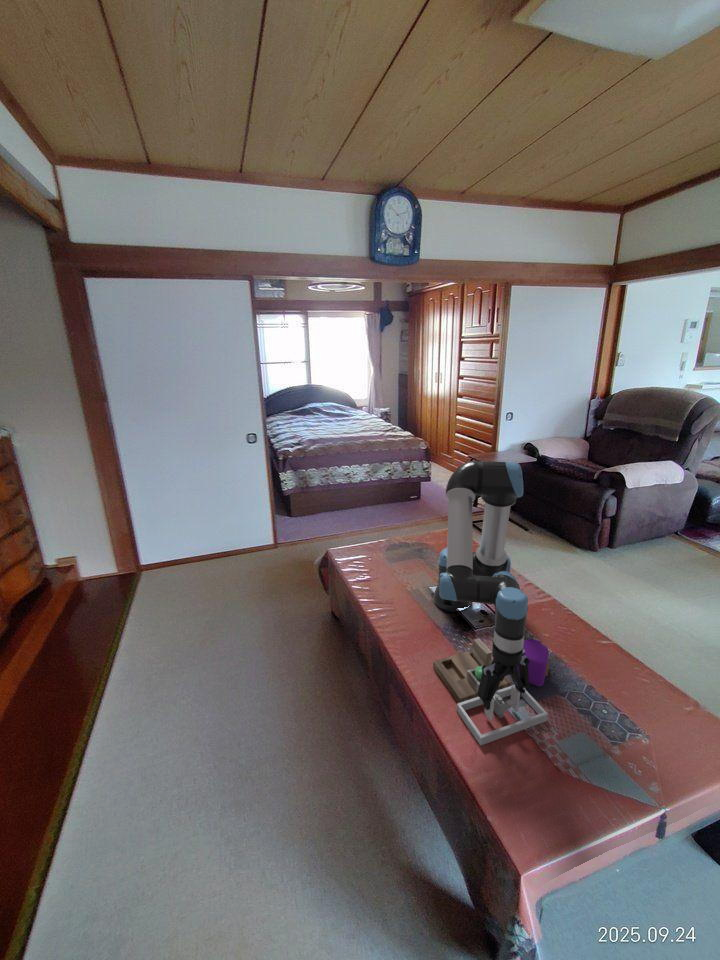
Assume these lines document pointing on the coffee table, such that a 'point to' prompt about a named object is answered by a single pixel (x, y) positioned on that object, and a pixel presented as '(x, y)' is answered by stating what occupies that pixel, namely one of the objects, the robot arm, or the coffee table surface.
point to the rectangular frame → (507, 729)
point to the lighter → (501, 705)
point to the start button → (478, 673)
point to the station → (466, 671)
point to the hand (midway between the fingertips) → (501, 711)
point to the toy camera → (536, 661)
